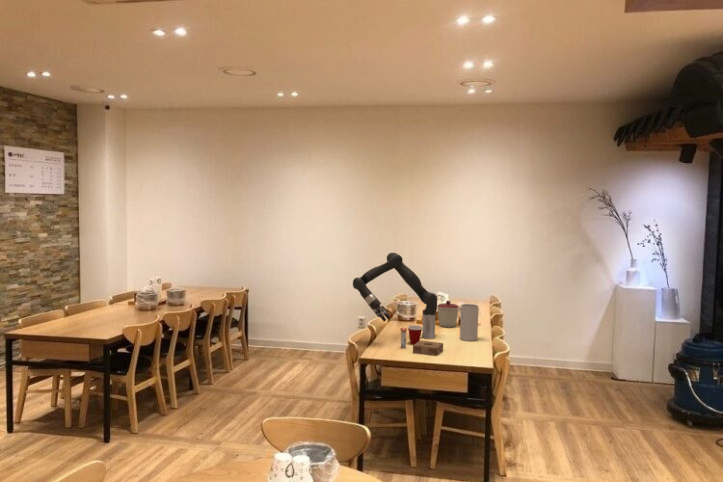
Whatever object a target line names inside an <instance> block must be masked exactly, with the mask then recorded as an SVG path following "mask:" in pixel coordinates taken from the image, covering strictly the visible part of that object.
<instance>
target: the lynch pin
mask: <svg viewBox="0 0 723 482" xmlns="http://www.w3.org/2000/svg"><path fill="white" fill-rule="evenodd" d="M407 330H408V327H407V328H406V327H401V328H400V329H399V331H400V349H402V348H405V349H406V347H407V345H406V344H407Z"/></svg>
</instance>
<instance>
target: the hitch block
mask: <svg viewBox="0 0 723 482" xmlns="http://www.w3.org/2000/svg"><path fill="white" fill-rule="evenodd" d="M443 351H444V343H443V342H437V341H428V340H419V342H417V343H416V344H412V353H413V354H418V355H419V354H420V355H428V356H435V357H438V356H439V354H441V353H442V352H443Z"/></svg>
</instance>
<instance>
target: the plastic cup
mask: <svg viewBox="0 0 723 482" xmlns="http://www.w3.org/2000/svg"><path fill="white" fill-rule="evenodd" d="M422 329H423V326H421V325H416V324H413V325H412V324H411V325H407V330H408V335H409V342H410V344H411V345H414V344H416V343H417V342H419V341H421V340H420V339H421V336H422V335H421V334H422Z"/></svg>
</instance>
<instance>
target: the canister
mask: <svg viewBox="0 0 723 482" xmlns="http://www.w3.org/2000/svg"><path fill="white" fill-rule="evenodd" d="M459 309H460V306H459V305H457V304H455V303H451V301H450V300H446V302H445V303H443V302H442V303H439V304H437V316H438V317H437V318H438V324H439V326H440V327H442V328H455V327H456V326H457V322H458V317H459V315H458V314H459Z"/></svg>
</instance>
